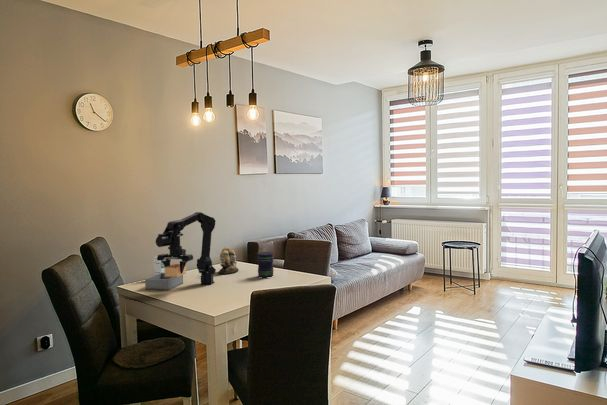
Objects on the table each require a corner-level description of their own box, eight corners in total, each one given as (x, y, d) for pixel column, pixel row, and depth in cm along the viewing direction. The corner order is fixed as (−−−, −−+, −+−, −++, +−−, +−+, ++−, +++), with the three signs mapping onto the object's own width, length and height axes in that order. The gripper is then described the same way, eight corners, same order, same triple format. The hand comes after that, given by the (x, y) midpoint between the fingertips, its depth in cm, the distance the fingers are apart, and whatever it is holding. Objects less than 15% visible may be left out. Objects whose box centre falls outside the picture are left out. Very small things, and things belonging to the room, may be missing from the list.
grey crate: (183, 283, 245) (182, 273, 245) (168, 290, 229) (168, 279, 229) (161, 282, 248) (161, 272, 248) (145, 289, 232) (145, 278, 232)
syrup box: (160, 280, 253) (160, 257, 252) (154, 279, 256) (153, 256, 255) (168, 278, 258) (167, 256, 257) (161, 277, 261) (161, 255, 260)
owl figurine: (230, 275, 265) (230, 249, 264) (214, 274, 268) (213, 248, 267) (241, 269, 282) (241, 245, 281) (226, 269, 285) (225, 244, 284)
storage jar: (276, 276, 259) (276, 253, 258) (262, 279, 253) (262, 255, 252) (268, 274, 267) (268, 251, 266) (255, 276, 261) (254, 253, 261)
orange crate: (186, 273, 228) (185, 264, 227) (176, 277, 218) (176, 268, 218) (174, 272, 229) (174, 264, 229) (164, 276, 219) (164, 267, 219)
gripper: (197, 242, 229) (198, 270, 229) (167, 242, 233) (167, 269, 233) (187, 245, 218) (188, 274, 218) (156, 245, 222) (157, 273, 222)
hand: (175, 273), depth 223 cm, fingers closed on orange crate, 7 cm apart
